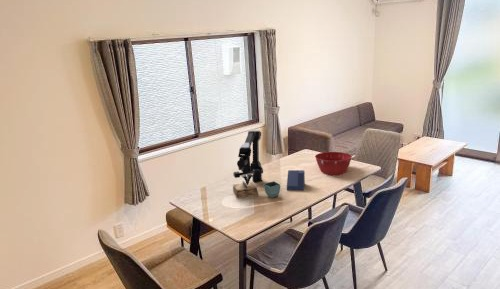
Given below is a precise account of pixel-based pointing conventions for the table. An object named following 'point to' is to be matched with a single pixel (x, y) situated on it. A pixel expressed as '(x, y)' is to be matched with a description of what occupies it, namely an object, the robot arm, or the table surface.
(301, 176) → the phone stand
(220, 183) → the table surface
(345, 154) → the mixing bowl
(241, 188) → the lid
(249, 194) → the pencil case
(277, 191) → the flower pot
